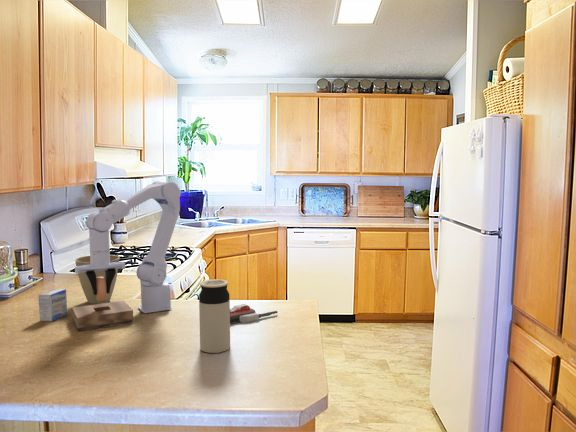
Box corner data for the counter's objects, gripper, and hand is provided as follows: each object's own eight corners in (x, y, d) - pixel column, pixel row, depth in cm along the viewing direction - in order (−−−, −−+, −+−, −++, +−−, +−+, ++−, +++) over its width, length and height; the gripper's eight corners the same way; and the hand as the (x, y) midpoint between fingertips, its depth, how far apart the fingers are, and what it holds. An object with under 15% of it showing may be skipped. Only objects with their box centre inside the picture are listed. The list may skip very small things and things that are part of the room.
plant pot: (68, 306, 171) (66, 261, 170) (92, 295, 186) (90, 254, 184) (107, 308, 168) (105, 262, 167) (128, 297, 183) (127, 255, 182)
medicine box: (51, 322, 154) (50, 295, 153) (39, 321, 154) (37, 294, 154) (67, 314, 161) (66, 288, 160) (55, 313, 162) (54, 288, 161)
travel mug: (236, 347, 131) (235, 282, 129) (213, 356, 125) (212, 287, 123) (217, 340, 136) (216, 277, 134) (194, 348, 130) (192, 282, 129)
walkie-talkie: (225, 328, 148) (279, 316, 159) (224, 314, 147) (279, 303, 159) (211, 321, 155) (264, 310, 166) (211, 307, 154) (264, 297, 166)
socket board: (124, 312, 164) (123, 300, 163) (133, 322, 152) (132, 310, 152) (72, 319, 156) (72, 307, 155) (77, 331, 144) (77, 318, 144)
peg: (108, 298, 155) (107, 276, 154) (105, 300, 152) (104, 278, 151) (97, 298, 155) (96, 276, 154) (95, 301, 152) (94, 279, 151)
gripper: (121, 247, 159) (122, 287, 160) (72, 250, 152) (74, 293, 153) (125, 250, 153) (127, 292, 154) (75, 254, 146) (77, 298, 147)
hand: (101, 293), depth 153 cm, fingers closed on peg, 3 cm apart
